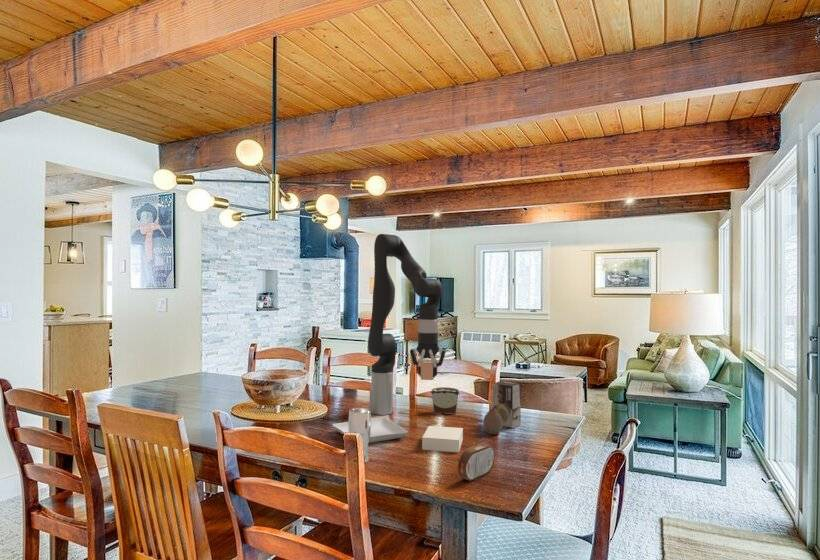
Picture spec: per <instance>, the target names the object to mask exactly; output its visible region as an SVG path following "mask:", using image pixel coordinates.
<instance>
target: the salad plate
mask: <svg viewBox="0 0 820 560" xmlns="http://www.w3.org/2000/svg"><path fill="white" fill-rule="evenodd" d="M332 427H333V429H335V430H336V431H337V432H339V433H340V434H342V435H343V434H344V433H345V432H349V430H348V421H344V422H339V423H337V422H336V423H332ZM407 434H408V430H406V429H405V428H404V427H401V426H400V425H398V424H396V423H395V422H393V421H392V420H390V419H388V418H386V417H381V416H380V417H375V418H371V432H370V438H369V443H368V444H371V443H378V442H379V443H380V442H383V441H384V442H387V441H391V440H396V439H400V438H402V437H404V436H406V435H407Z"/></svg>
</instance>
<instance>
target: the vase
mask: <svg viewBox="0 0 820 560" xmlns="http://www.w3.org/2000/svg"><path fill="white" fill-rule="evenodd" d="M482 424H483V429H484V431H485V432H486V433H487V434H489V435H498V434H499V433H500V432H501V431H502V429H503V426H502V418H501V416H500V415H499V413H498V412H497V410H496V409H495V408H493V407H491V408H489V410H488V411H487V413H486V414H485V415H484V417H483V423H482Z"/></svg>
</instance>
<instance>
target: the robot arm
mask: <svg viewBox="0 0 820 560" xmlns="http://www.w3.org/2000/svg"><path fill="white" fill-rule="evenodd" d="M374 240H375V241H374V247H373V254H374V255H373V257H374V259H373V260H374V275H373V277H374V279H373V288H372V289H373V291H372V309H371V318H370V319H371V320H370V327H369V333H368V340H367V349H368V353H369V354H370V355H371V356H373V357H379V358H378V360H377V361H375V363H372V365H371V370H370V371H371V372H370V373H371V375H370V376H371V378H370V379H371V381H370V390H369V405H368V406H369V408H368V409H370V410H371V414H372V415H377V416H378V415H379V416H380V415H382V416H383V415H386V416H387V415H390V414H393V411H394V410H393V408H394V407H393V403H394V401H393V400H394V399H393V397H394V367H395V364H396V353H397V342H396V337H394V335H393V334H391V333H388V332H387V333H384V328H385V327H384V326H385V323H386V320H387V319H388V316H389V315H390V313H391V311H392V309H393V308H394V305H395V297H396V287H395V283H394V281H393V279H392V277H391V274H390V272H389V270H388V261H387V259H388V257H391V258H393V257H394V258H396V259H397V260H399V261H400V268H401V271H402V272H401V273H403V275H404V276H405V277H406V278H407V279H408V281H409V282H410V283H411V286H412V289H413V291H414V293H415V294H416V295H417V296H419V297H421V298H427V301H426V302H425V303H421V304H420V305H419V309H418V325H417V327H418V328H417V347H415V348H410V349H409V353H410V357H411V361H412V365H414V366H416V367H417V374H418V376H419V377H420V378H421V363H422V362H424V361H425V359H431V362H433V366H434V367H433V377H434V378H436V377H437V375H438V367H441V366H442V365H443V362H444V360H445V355H446V351H447V350H446V349H442V348H440V347H439V321H438V318H439V317H438V315H439V314H438V309H439V305H440V301H441V297H442V294H443V286H442V282H441V281H440V280H439V279H437V278H427V272H426V270H425V269H424V268H423V267H422V266H421V265H420V264H419V263H418V262H417V261H416V260H415V258H414V257H413V256H412V254H411V253H410V251H409V249H408V248H407V246H406V244H405V242H404V241H403V239H402V238H401V237H400V236H398V235H396V234H385V233H379V234H378V235H377V236H376V237H375V239H374ZM417 352H418V354H419V355H420V356H419V360H418V359H417V355H416V354H417ZM438 353H439V355H440V357H439V361H437V358H436V356H437V354H438Z"/></svg>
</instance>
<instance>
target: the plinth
mask: <svg viewBox="0 0 820 560" xmlns="http://www.w3.org/2000/svg"><path fill="white" fill-rule="evenodd" d="M421 440H422V441H421V450H423V451H435V452H446V453H447V452H448V453H460V451H461V446H462V444H463V440H464V428H463V427H453V426H451V427H450V426H438V425H437V426H436V425H428V426H427V428H426V430H425V432H424V434H423V435H422V437H421Z"/></svg>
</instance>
